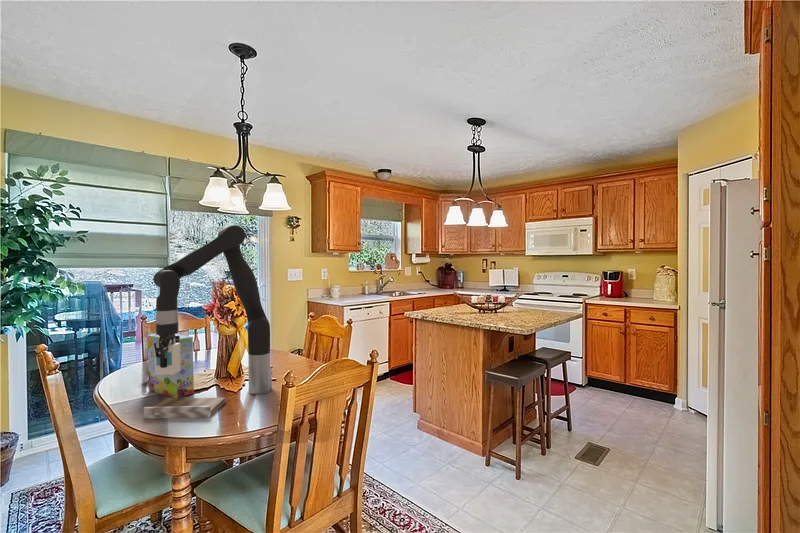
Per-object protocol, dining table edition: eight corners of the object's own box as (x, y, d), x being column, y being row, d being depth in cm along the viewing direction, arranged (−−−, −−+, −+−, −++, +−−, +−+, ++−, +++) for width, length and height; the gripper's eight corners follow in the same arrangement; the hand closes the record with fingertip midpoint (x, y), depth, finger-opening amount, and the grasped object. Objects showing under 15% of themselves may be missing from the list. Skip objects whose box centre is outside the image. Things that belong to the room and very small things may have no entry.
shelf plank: (225, 402, 160) (225, 392, 160) (209, 417, 145) (209, 407, 145) (166, 403, 159) (165, 393, 159) (143, 418, 144) (143, 408, 144)
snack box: (146, 391, 173) (145, 334, 173) (165, 385, 181) (165, 331, 180) (176, 400, 163) (175, 339, 162) (195, 393, 171) (194, 335, 170)
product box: (162, 370, 152) (161, 343, 152) (180, 370, 152) (180, 342, 152) (154, 374, 147) (154, 346, 147) (173, 374, 147) (173, 345, 147)
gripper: (167, 318, 156) (167, 360, 157) (145, 325, 142) (146, 370, 142) (186, 318, 157) (186, 360, 157) (166, 324, 142) (167, 370, 143)
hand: (167, 365), depth 150 cm, fingers closed on product box, 5 cm apart
